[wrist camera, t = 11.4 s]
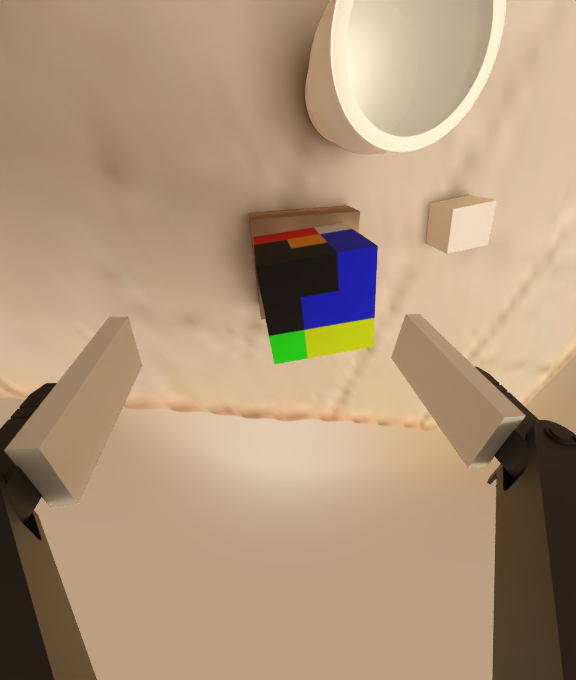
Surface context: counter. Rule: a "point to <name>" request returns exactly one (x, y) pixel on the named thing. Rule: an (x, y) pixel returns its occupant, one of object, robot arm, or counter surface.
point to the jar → (399, 70)
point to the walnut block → (299, 224)
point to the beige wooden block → (460, 223)
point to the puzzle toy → (317, 290)
